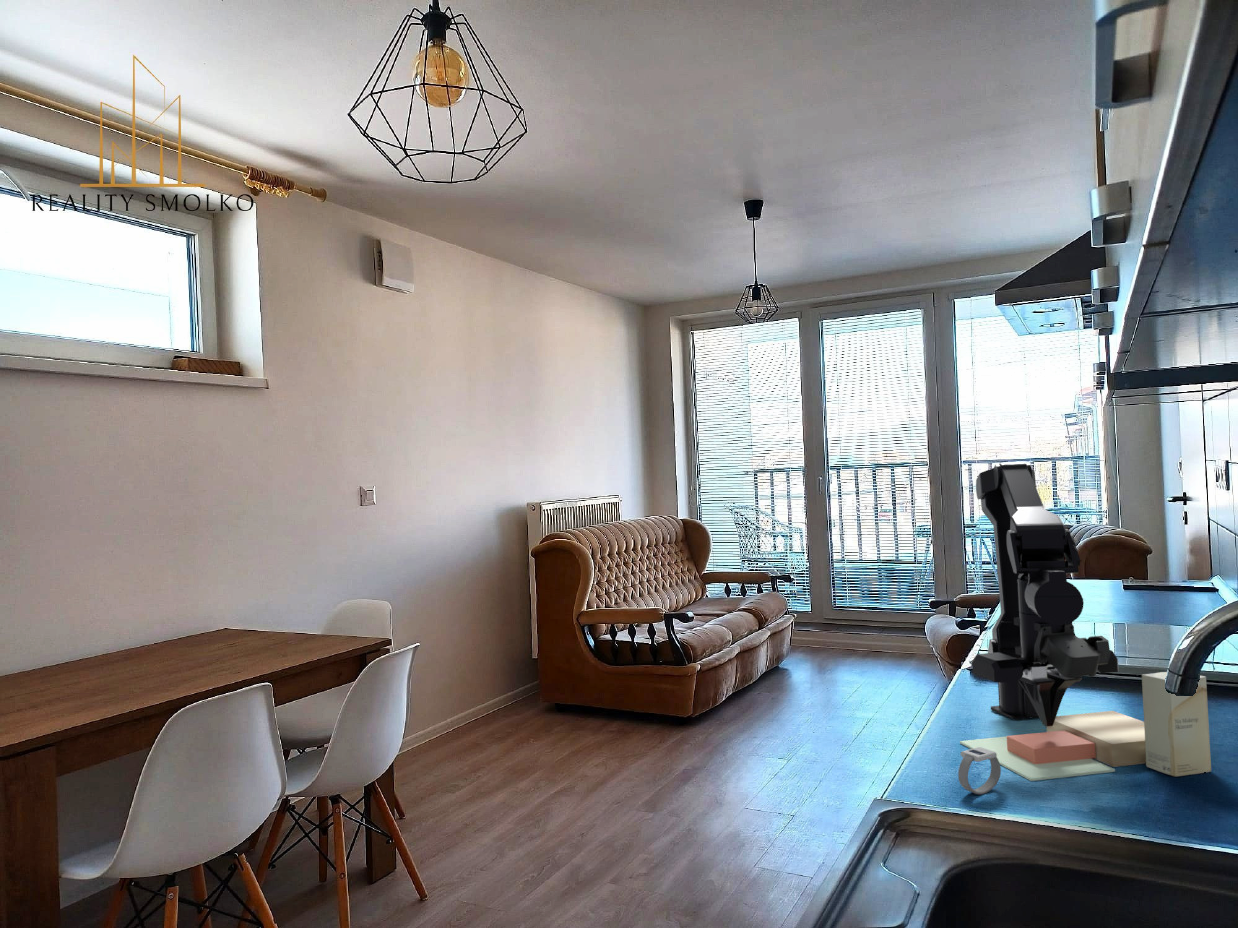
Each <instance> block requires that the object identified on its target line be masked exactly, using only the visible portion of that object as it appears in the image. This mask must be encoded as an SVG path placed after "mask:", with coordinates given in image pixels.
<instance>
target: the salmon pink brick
mask: <svg viewBox="0 0 1238 928" xmlns="http://www.w3.org/2000/svg"><path fill="white" fill-rule="evenodd" d="M1006 736H1007V750H1008V751H1010V752H1012V753H1014V754H1016V755H1017V756H1019V757H1021V758H1023V759H1025V760H1027V761H1029V762H1031V763H1033V764H1043V763H1053V762H1062V761H1072V760H1081V759H1094V758H1096V753H1095V743H1094V742H1091V741H1089V740H1087V739H1084V738H1082V737H1079V736H1077V735H1075V734H1072V733H1070V732H1068V731H1065V730H1063V731H1053V732H1047V731H1045V732H1044V731H1043V732H1036V733H1033V732H1032V733H1025V734H1022V733H1021V734H1015V735H1014V734H1013V735H1006Z"/></svg>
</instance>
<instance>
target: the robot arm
mask: <svg viewBox="0 0 1238 928" xmlns="http://www.w3.org/2000/svg"><path fill="white" fill-rule="evenodd" d="M975 492H976V497H977V500H980V504H981V511H982V513H983V514H984V515H985V516H986V517H987V519H988V520H989V521H990V523H991V524H992V526H993V536H994V549H995V558H996V559H995V560H996V569H997V571H996V572H997V583H998V594H999V605H1000V606H999V607H1000V615H999V617H998V618H997V620H996V622H995V624H994V625H993V627H992V629H991V635H992V638H989V642H988V649H987V652H986V653H977V654H976V655H975V656H974V658H973V660H972V662H971V664H972V665H971V666H972V667H971V668H972V675H975V676H978V677H980V678H982V679H986V680H988V681H991V682H994V683H997V687H998V688H997V691H998V705H993V706H992V705H991V706H990V710H991V711H994V712H995V713H998V714H1000V715H1002V716H1005V717H1007V718H1009V719H1012V720H1017V721H1018V720H1025V719H1026V720H1027V719H1034V718H1035V719H1036V718H1039V720H1040V722H1041V723H1042V725H1043V726H1045V727H1046V728H1047V727H1048V726H1053V724H1054V721H1055V718H1056V716H1058V713H1059V710H1060V707H1061V704H1062V701H1063V698H1064V696H1065V694H1066V693H1067V690H1068V688H1069V687H1071V686H1072V685H1073V684H1075V683H1076V682H1080V681H1081V680H1082V679H1083V677H1095V676H1097V673H1098V674H1110V673H1111V674H1113V673H1118V672H1119V670H1120V669H1119V658H1118V657H1117V656H1116V654H1115V653H1114V651H1113V650H1111V648H1110V641H1109V640H1108V639H1107V638H1106V637H1105V636H1103V635H1093V636H1089V637H1088V638H1087V637H1078V636H1077V635H1076V633H1075V626H1074V625H1073V622H1074V621H1076V620H1077V619H1078V618H1079V617H1080V615H1081V614H1082V612H1083V609H1084V598H1083V596H1082V594H1081V591H1080V590H1079V589H1078V588H1077V587H1076V586H1075V585H1074V584H1073V583H1071V582H1068V580H1067V574H1079V571H1080V570H1079V567H1080V565H1081V557H1080V554H1079V550H1078V547H1077V544H1076V541H1075V538H1074V537H1073V536H1072V533H1071V531H1070V529H1069V528H1066V526H1065V524H1064V523H1063V521H1062V520H1061V518H1060V516H1059V515H1057V514H1056V513H1054V512H1052V511H1049V510H1047V509H1046V508H1045V507H1044V504H1043V501H1042V499H1041V497H1040V494H1039V492H1038V489H1037V482H1036V471H1035V470H1034V469H1032V465H1031V463H1030V462H1029V463H1028V462H1026V461H1020V462H1019V461H1018V462H1017V461H1016V462H1015V461H1013V462H1000V463H998V464H994V467H993V468H989V469H987V470H985V471H982V472H979V474H978V476H977V478H976V480H975Z"/></svg>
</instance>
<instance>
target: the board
mask: <svg viewBox="0 0 1238 928" xmlns="http://www.w3.org/2000/svg"><path fill="white" fill-rule="evenodd" d="M1063 730H1065V731H1068V732H1070V733H1072V734H1075V735H1077V736H1079V737H1082V738H1084V739H1087V740H1089V741H1091V742H1094V743H1095V753H1096V758H1093V760H1095V761H1097V762H1100V763H1102V764H1104V765H1106V766H1109V767H1111V768H1112V767H1113V768H1116V767H1117V768H1118V767H1125V766H1132V765H1134V766H1135V765H1142V764H1143V765H1144V764H1145V765H1146V749H1145V730H1144V720H1140V719H1137V718H1134V717H1131V716H1129V715H1125V714H1124V713H1120V712H1117V711H1115V710H1108V711H1107V710H1106V711H1097V712H1089V713H1087V712H1086V713H1078V714H1068V715H1067V714H1066V715H1056V718H1055V721H1054V724H1053V726H1048V727H1047V726H1046V732H1053V731H1063Z"/></svg>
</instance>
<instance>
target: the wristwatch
mask: <svg viewBox="0 0 1238 928" xmlns="http://www.w3.org/2000/svg"><path fill="white" fill-rule="evenodd" d="M960 756H961V757H962V759H961V761H960V763H959V767H958V772H957V775H958V776H957V777H958V781H959V784H960V786H961V787H962V788H963V789H965V790H966V791H968V792H969V793H970V792H971V793H973V794H975V795H985V794H987V793H989V792H990V791H992V790H993V789H994V788H995V786H996V785H997V784H998V783H999V780H1000V777H1001V774H1002V773H1001V772H1002V770H1001V769H1002V768H1001V765H1000V763H999V761H998V759H997V754H996V752H994V751H991V750H988V749H985V748H981V747H977V748H974V749H970V748H969V749H967V750H962V751H961V752H960ZM987 760H989V763H990V773H989V776H988V778H987V780H986V781H985V782H984V783H983V784H982V785H981V786H980V787H977V788H975V789H974V788H972V786H971V785H970V782H969V771H970V767H971V766H972V763H973V762H977V763H979V762H984V761H987Z"/></svg>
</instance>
